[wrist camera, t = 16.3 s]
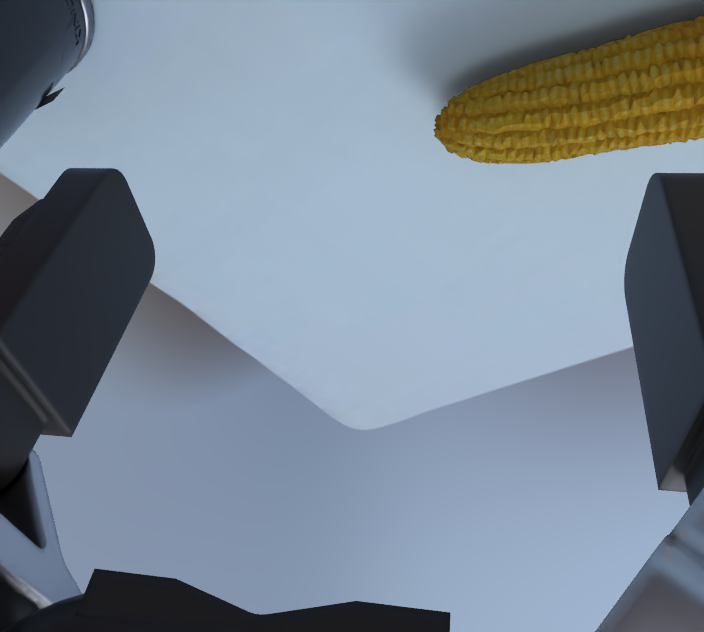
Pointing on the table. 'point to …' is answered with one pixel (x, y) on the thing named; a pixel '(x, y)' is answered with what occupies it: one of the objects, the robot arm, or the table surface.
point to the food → (585, 101)
